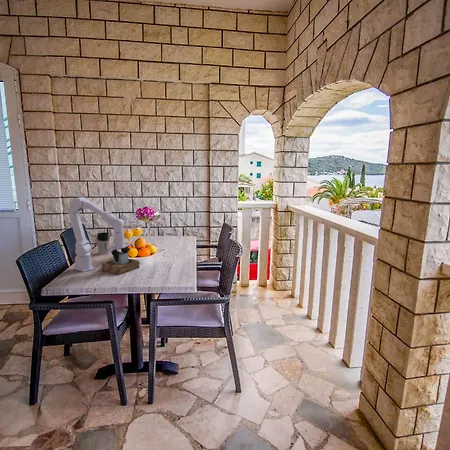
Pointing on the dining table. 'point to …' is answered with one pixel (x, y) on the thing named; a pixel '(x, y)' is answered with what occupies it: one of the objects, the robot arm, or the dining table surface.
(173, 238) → the dining table surface
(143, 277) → the dining table surface
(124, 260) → the box
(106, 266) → the big crate
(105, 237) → the grey jug
